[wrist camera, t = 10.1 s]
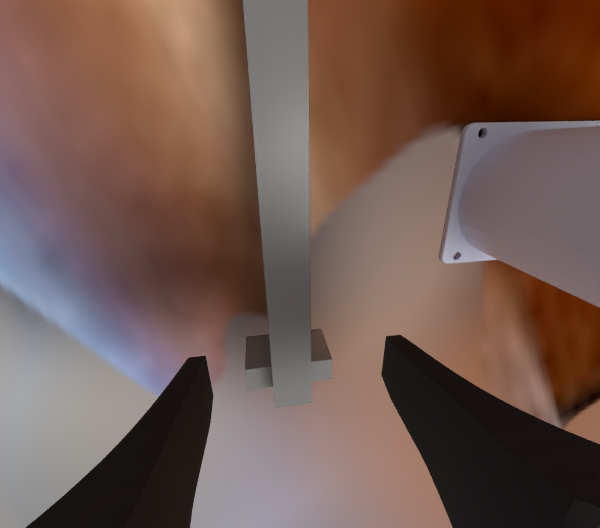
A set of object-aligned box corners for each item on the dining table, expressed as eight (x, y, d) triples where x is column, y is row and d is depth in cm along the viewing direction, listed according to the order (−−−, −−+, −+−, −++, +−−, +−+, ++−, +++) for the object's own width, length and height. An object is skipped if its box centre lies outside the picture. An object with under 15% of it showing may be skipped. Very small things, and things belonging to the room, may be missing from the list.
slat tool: (324, -35, 12) (360, -128, 8) (321, 346, 20) (338, 399, 16) (202, -42, 11) (172, -147, 7) (248, 354, 19) (246, 412, 15)
